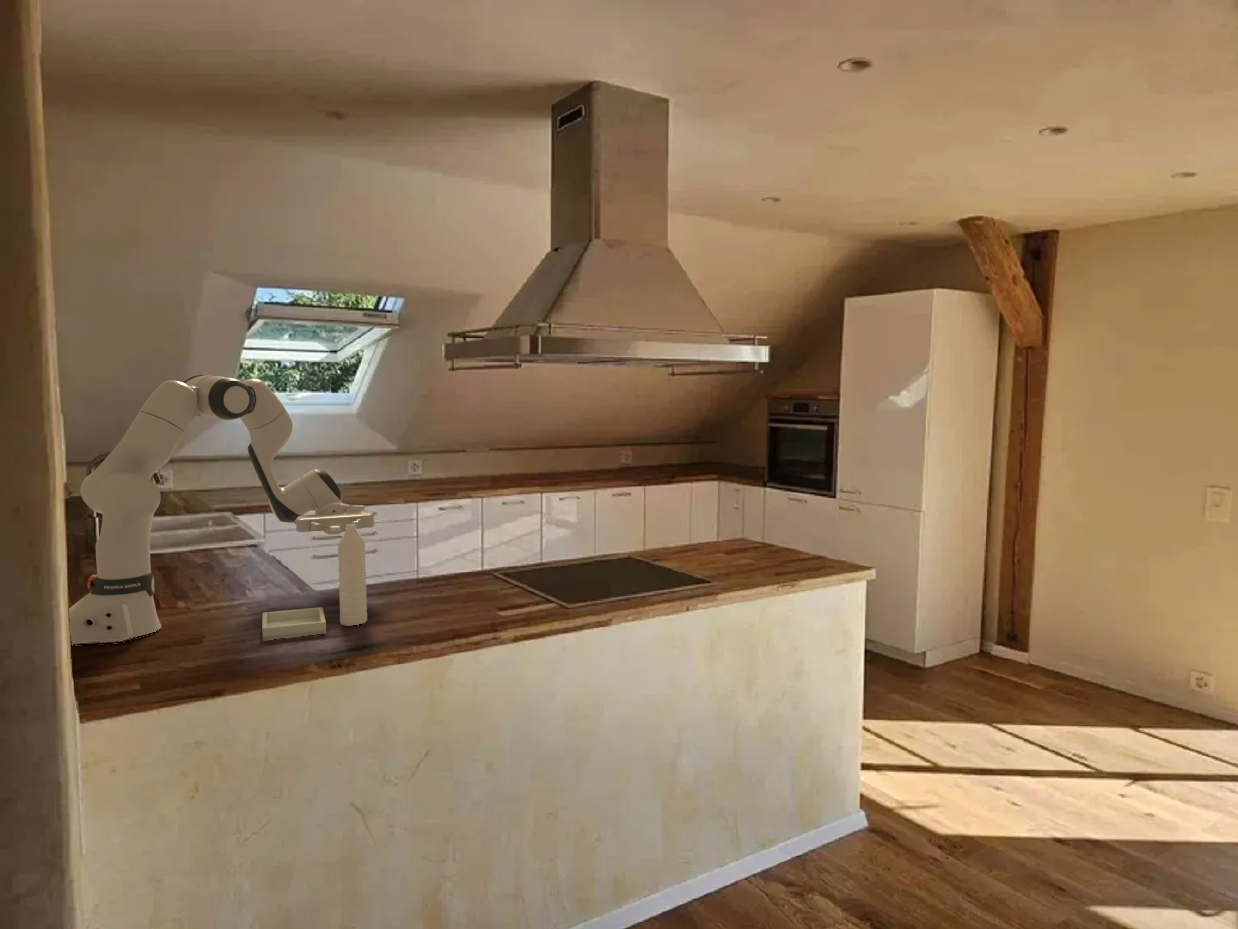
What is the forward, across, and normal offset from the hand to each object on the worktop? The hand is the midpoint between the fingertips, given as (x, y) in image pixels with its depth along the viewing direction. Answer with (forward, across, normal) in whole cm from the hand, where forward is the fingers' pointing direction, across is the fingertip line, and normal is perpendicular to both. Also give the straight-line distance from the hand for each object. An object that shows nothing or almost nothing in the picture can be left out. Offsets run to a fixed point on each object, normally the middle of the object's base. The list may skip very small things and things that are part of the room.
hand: (337, 526), depth 224 cm
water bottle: (+18, +1, +22) cm, 28 cm away
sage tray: (+18, -12, +21) cm, 31 cm away
